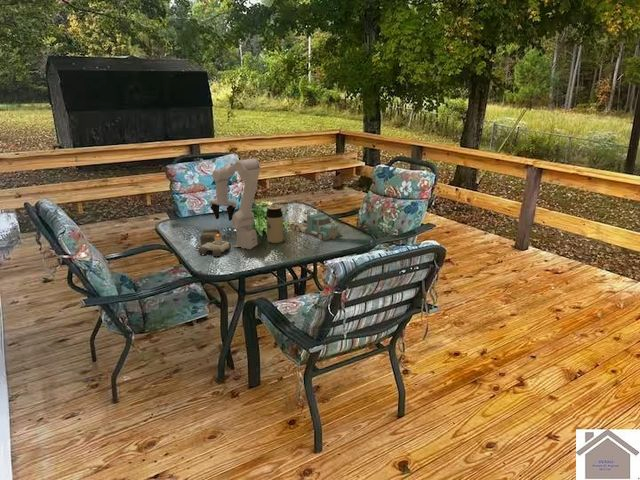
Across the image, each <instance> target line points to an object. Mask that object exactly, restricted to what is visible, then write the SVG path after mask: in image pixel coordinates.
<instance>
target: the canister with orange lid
mask: <svg viewBox="0 0 640 480" xmlns="http://www.w3.org/2000/svg"><path fill="white" fill-rule="evenodd" d="M214 238H215V245H219V246H222V241H223V240H222V238H223V237H222V233H221V232H220V233H216V234H214Z"/></svg>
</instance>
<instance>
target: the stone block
mask: <svg viewBox="0 0 640 480" xmlns="http://www.w3.org/2000/svg"><path fill="white" fill-rule="evenodd" d="M216 233H220V234H221V232H220V229H215V228H211V229H206V228H205V229H203V231H202V232H201V234H200V236H199V238H200V239H199V240H200V245H204V244H206V243H208V242H209V243H211V242H213V241H215V238H214V234H216Z"/></svg>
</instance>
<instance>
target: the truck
mask: <svg viewBox="0 0 640 480" xmlns="http://www.w3.org/2000/svg"><path fill="white" fill-rule="evenodd" d="M310 211H311V209H306V219H305V220H303V222H293V223H291V224H290V225H289V227H290V229H291V230H294V231H296V232H298V233H299V232H301V233H304V234H306V235H309V236H312V237H314V238H316V239H318V240H320V241H321V240H322V241H324V242H327V241H331V240H334V239H337V238H340V237H343V235H342V234H341V232H340V230H341V229H339V228H338V226H337V225H336V224H335V223H334V222H332V218H331V217H329V216H326V214H325V213H323V212H320V206H317V207H316V213H313V214H311V212H310Z"/></svg>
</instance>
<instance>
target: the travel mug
mask: <svg viewBox="0 0 640 480" xmlns="http://www.w3.org/2000/svg"><path fill="white" fill-rule="evenodd" d="M266 209H267V210H266V215H265V216H266V233H267V237H266V238H267V242H268V243H270V242H271V244H279V243H281V242H284V221H283V217H284V216H283V211H282V205H281V204H280V205H279V204H270V205H266Z"/></svg>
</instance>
